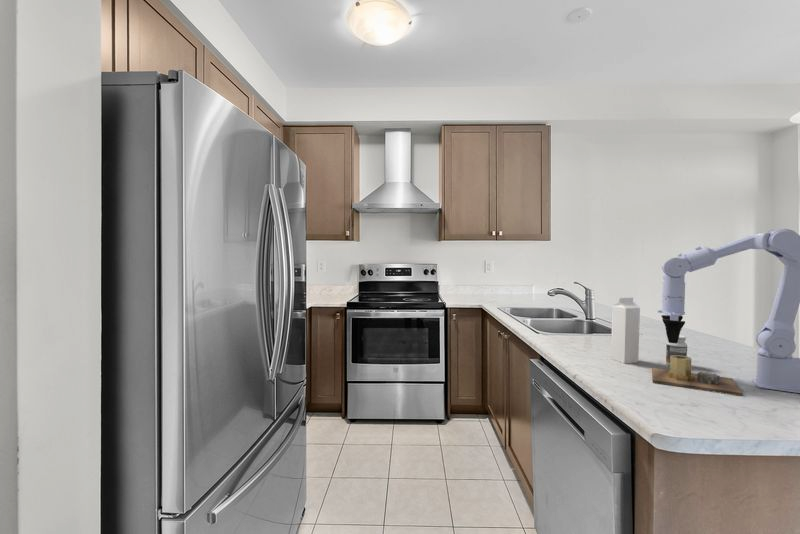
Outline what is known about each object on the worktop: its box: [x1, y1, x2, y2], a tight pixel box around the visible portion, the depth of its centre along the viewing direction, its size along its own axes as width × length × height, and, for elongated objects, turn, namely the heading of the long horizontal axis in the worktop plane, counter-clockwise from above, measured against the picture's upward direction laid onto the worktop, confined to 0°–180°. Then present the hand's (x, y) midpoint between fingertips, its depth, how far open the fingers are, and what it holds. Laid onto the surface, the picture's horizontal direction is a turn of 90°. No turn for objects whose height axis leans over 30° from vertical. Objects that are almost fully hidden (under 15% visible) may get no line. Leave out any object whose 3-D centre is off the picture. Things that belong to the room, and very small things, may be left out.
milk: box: [610, 296, 641, 364], centre depth 139 cm, size 6×6×22 cm
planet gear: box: [667, 355, 693, 381], centre depth 119 cm, size 6×6×6 cm
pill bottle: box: [665, 334, 688, 366], centre depth 134 cm, size 6×6×10 cm
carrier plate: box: [651, 367, 743, 397], centre depth 118 cm, size 20×14×4 cm
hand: (672, 340), depth 125 cm, fingers open, 7 cm apart
